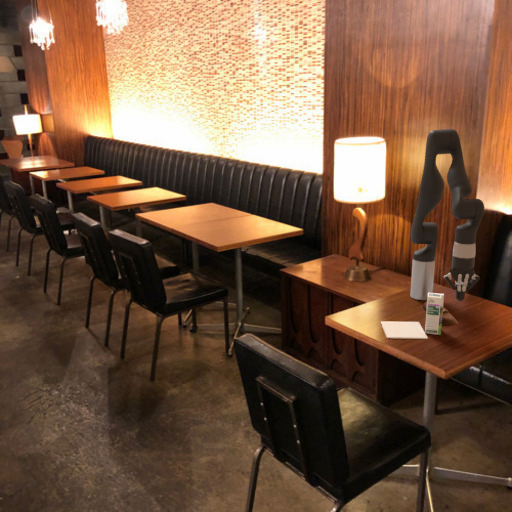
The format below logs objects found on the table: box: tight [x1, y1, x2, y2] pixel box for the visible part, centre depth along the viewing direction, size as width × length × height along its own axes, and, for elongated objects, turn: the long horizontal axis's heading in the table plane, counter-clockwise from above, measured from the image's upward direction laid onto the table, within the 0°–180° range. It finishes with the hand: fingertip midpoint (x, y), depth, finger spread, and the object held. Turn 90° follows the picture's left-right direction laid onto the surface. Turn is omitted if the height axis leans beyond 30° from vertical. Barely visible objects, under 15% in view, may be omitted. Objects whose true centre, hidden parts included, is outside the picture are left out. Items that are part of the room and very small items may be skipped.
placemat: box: [380, 320, 429, 340], centre depth 202 cm, size 15×14×1 cm
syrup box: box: [424, 292, 445, 336], centre depth 199 cm, size 6×6×14 cm
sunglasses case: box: [422, 300, 459, 325], centre depth 216 cm, size 18×7×7 cm, turn 4°
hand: (459, 300), depth 197 cm, fingers closed
